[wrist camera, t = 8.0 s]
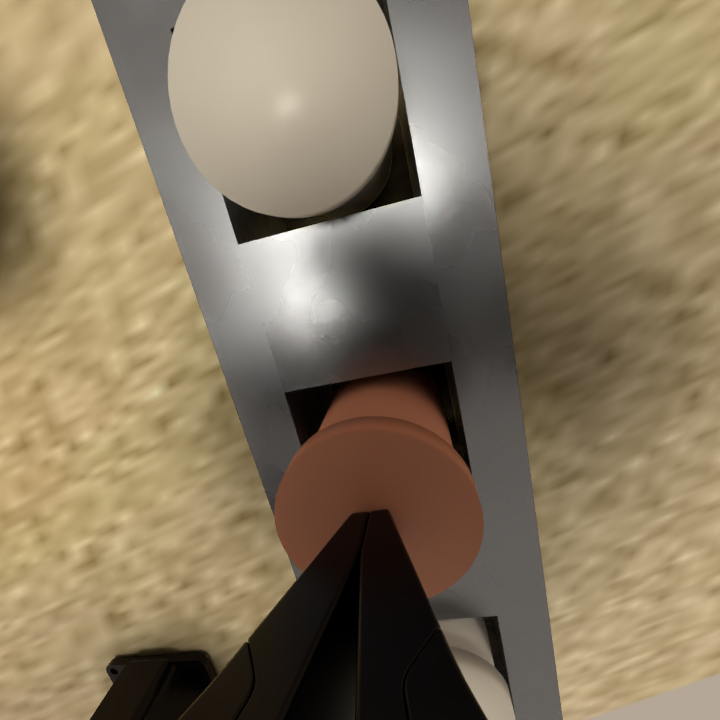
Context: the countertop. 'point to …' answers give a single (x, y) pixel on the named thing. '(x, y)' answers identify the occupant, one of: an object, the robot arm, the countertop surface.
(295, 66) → the ivory plug near
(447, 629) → the ivory plug far
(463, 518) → the rust plug
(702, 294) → the countertop surface
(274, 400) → the socket block
